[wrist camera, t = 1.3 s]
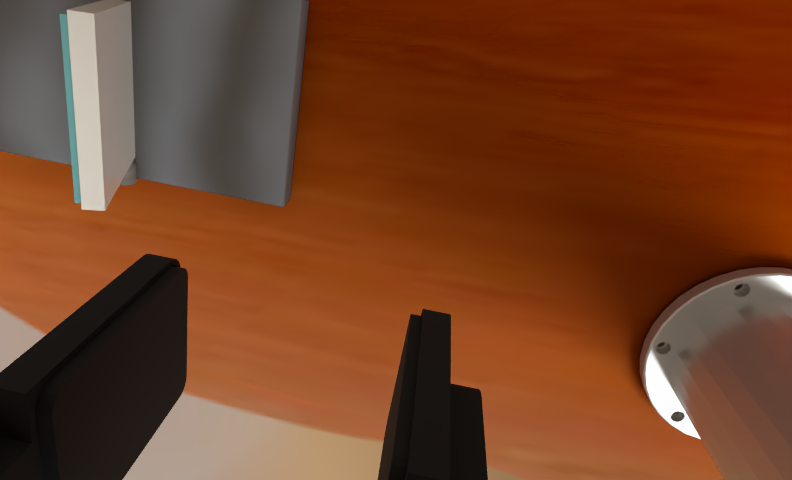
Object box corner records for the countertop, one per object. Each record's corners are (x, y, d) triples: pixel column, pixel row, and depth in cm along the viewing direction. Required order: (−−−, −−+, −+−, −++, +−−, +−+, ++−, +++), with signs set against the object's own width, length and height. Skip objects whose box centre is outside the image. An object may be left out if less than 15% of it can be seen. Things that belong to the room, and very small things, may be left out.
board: (309, -2, 28) (295, -2, 25) (290, 199, 32) (276, 216, 30) (-29, -67, 28) (-75, -73, 26) (0, 142, 33) (-37, 153, 30)
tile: (93, 13, 20) (57, 8, 20) (105, 210, 23) (74, 208, 23) (130, 1, 27) (103, -3, 26) (135, 156, 30) (111, 154, 30)
